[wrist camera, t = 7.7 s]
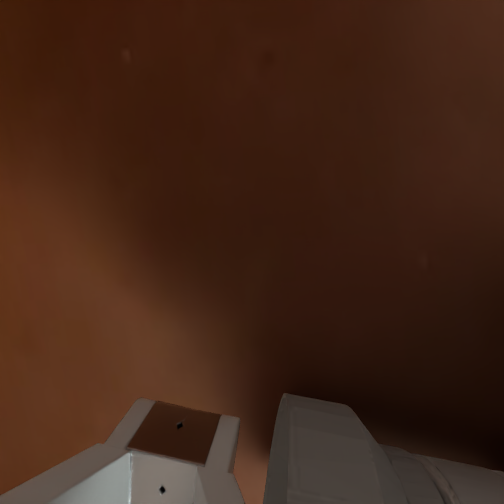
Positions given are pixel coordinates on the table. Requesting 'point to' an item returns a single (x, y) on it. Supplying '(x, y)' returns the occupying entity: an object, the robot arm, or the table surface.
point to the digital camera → (361, 464)
